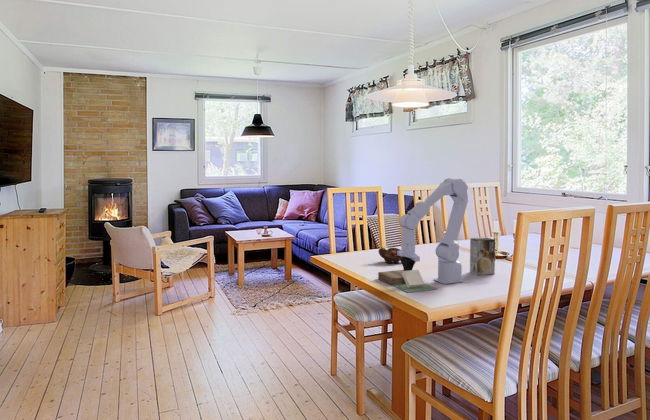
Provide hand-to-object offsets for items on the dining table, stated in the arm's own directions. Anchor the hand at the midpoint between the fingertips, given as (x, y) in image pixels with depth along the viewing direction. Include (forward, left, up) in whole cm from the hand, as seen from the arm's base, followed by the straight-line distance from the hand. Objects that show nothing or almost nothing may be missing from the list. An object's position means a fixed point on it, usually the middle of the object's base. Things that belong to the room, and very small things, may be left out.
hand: (407, 275), depth 195 cm
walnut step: (0, -7, -4) cm, 8 cm away
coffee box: (-42, -4, -4) cm, 42 cm away
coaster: (0, +4, -1) cm, 4 cm away
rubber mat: (0, +5, -4) cm, 6 cm away
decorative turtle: (-16, -40, -4) cm, 43 cm away
